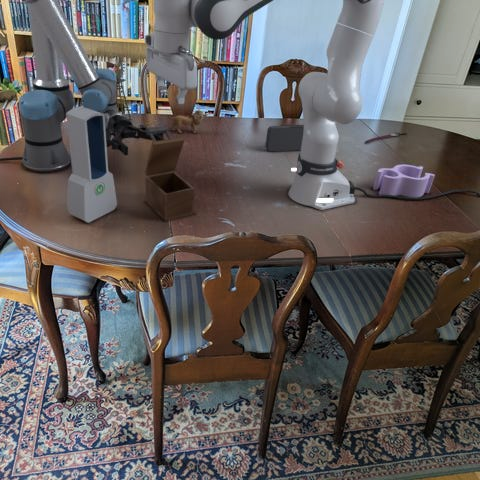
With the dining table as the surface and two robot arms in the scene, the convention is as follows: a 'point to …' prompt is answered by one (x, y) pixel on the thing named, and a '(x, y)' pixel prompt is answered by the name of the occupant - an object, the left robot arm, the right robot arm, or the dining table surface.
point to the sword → (384, 137)
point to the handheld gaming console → (284, 138)
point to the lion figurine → (188, 121)
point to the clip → (403, 181)
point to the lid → (163, 152)
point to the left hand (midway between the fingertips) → (147, 148)
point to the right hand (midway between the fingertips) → (170, 98)
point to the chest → (170, 195)
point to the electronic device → (89, 166)
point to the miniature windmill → (118, 77)
